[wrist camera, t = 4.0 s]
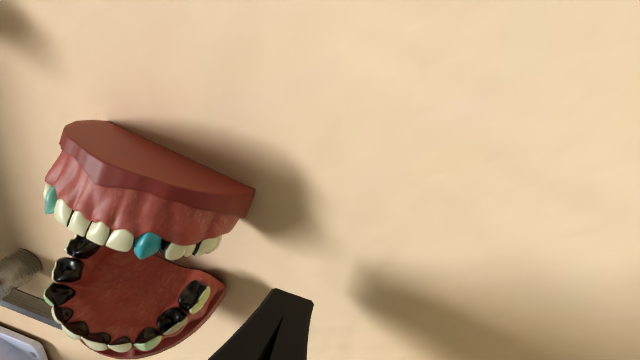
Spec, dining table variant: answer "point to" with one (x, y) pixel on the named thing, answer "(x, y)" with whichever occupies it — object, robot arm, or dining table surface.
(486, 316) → the dining table surface
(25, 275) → the pin seat
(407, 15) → the dining table surface
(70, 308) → the dentures
